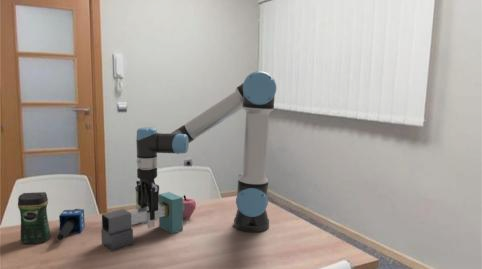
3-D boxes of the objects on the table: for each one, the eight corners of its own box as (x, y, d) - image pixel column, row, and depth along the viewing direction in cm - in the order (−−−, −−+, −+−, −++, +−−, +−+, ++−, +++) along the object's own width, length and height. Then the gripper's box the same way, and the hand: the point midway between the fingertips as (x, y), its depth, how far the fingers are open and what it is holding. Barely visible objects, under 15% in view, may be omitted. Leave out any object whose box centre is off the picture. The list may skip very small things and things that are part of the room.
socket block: (182, 230, 150) (182, 197, 148) (172, 233, 146) (172, 200, 144) (169, 223, 157) (169, 191, 155) (159, 226, 153) (158, 194, 151)
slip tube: (168, 215, 147) (168, 205, 147) (116, 229, 132) (115, 218, 132) (162, 212, 150) (162, 202, 150) (111, 226, 135) (111, 215, 135)
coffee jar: (52, 235, 143) (50, 189, 140) (45, 243, 135) (43, 195, 133) (26, 236, 141) (22, 190, 139) (17, 245, 133) (13, 196, 131)
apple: (170, 218, 162) (170, 196, 161) (183, 212, 170) (183, 192, 168) (187, 223, 158) (187, 200, 156) (199, 217, 165) (199, 195, 163)
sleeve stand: (133, 244, 136) (132, 213, 134) (111, 251, 130) (110, 219, 128) (123, 238, 141) (122, 208, 140) (101, 244, 135) (100, 213, 134)
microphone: (48, 227, 131) (68, 204, 156) (49, 247, 132) (69, 222, 157) (71, 226, 133) (87, 204, 157) (72, 246, 134) (88, 221, 158)
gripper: (127, 165, 144) (129, 221, 147) (149, 173, 132) (150, 234, 135) (144, 162, 149) (145, 217, 152) (167, 170, 137) (168, 229, 140)
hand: (148, 225), depth 144 cm, fingers closed on slip tube, 4 cm apart
